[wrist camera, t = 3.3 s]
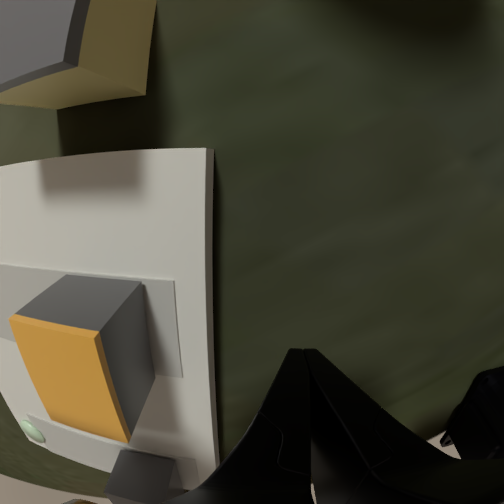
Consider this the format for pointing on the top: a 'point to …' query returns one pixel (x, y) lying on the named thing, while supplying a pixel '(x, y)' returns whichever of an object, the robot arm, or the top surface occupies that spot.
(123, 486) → the plain toggle
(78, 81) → the block
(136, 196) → the panel
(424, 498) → the robot arm
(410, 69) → the top surface
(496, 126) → the top surface
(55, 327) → the tagged toggle
